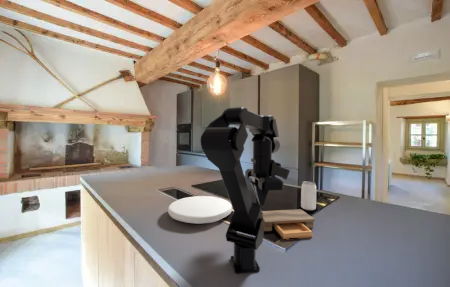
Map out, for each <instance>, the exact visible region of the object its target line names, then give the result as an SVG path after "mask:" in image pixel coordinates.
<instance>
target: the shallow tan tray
mask: <svg viewBox="0 0 450 287" xmlns="http://www.w3.org/2000/svg"><path fill="white" fill-rule="evenodd" d="M272 226H273V227H274V228H273V227H272V228H273V229H274V231H276V232H277V234H278V235H279V236H280V237H281V238H282V240H284V239H286V240H290V239H289V238H298V239H305V238H306V239H309V238H313V231H312V230H311V228H307V227H306V226H305V225H304V224H302V223H301V222H293V223H278V224H272Z"/></svg>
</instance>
